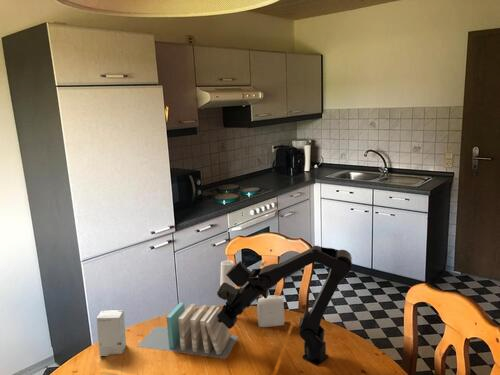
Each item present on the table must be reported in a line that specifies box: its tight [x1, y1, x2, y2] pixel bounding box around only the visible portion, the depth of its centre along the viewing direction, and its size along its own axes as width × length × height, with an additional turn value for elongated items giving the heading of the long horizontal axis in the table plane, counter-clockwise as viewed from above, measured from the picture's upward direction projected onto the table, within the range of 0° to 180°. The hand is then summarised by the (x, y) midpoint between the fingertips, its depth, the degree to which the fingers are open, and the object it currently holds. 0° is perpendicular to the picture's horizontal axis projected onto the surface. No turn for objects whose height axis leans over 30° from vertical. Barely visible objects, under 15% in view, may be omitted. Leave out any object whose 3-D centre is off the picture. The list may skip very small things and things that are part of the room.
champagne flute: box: [219, 259, 239, 318], centre depth 164 cm, size 7×7×24 cm
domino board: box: [136, 325, 239, 359], centre depth 151 cm, size 34×14×1 cm, turn 74°
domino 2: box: [178, 303, 197, 350], centre depth 149 cm, size 2×11×12 cm, turn 164°
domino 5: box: [205, 306, 231, 354], centre depth 146 cm, size 2×11×12 cm, turn 164°
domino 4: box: [200, 305, 217, 353], centre depth 147 cm, size 2×11×12 cm, turn 164°
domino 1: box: [165, 302, 186, 349], centre depth 150 cm, size 2×11×12 cm, turn 164°
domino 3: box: [190, 304, 208, 352], centre depth 148 cm, size 2×11×12 cm, turn 164°
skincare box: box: [96, 309, 127, 358], centre depth 146 cm, size 8×6×15 cm
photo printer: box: [256, 295, 285, 328], centre depth 159 cm, size 10×4×12 cm, turn 96°
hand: (218, 321), depth 145 cm, fingers closed
